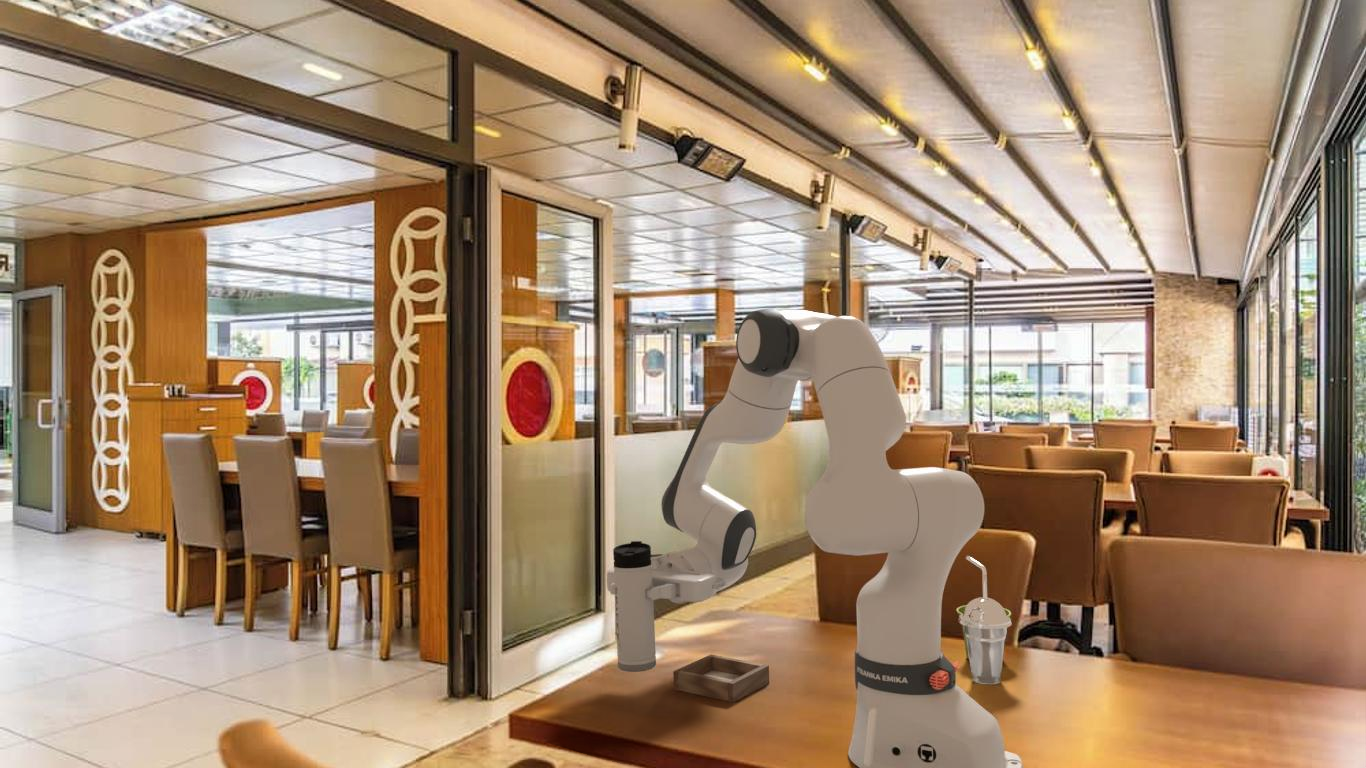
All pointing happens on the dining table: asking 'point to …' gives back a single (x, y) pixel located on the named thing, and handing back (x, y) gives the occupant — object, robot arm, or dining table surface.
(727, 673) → the open wooden tray
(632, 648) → the travel mug
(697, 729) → the dining table surface
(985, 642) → the cup with straw
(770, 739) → the dining table surface
